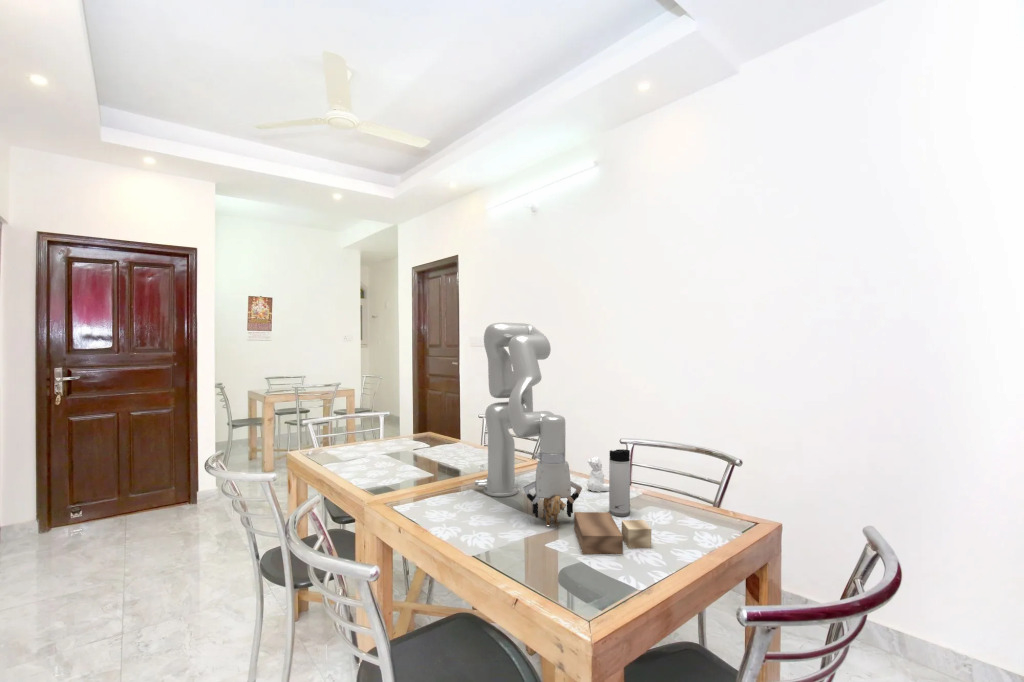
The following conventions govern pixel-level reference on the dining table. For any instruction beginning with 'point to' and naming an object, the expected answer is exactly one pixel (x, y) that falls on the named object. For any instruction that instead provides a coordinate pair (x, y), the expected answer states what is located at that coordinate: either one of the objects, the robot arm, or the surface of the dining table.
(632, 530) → the oak block
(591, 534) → the walnut block
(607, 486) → the seated beast figurine
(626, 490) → the travel mug
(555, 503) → the lion figurine
